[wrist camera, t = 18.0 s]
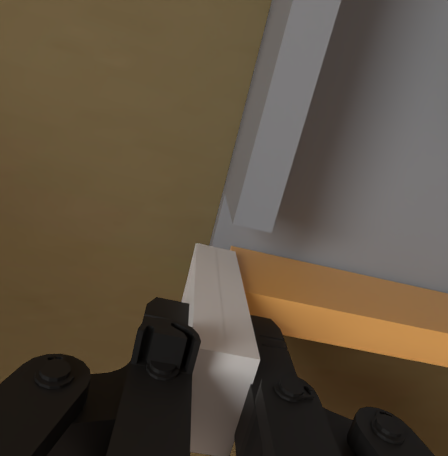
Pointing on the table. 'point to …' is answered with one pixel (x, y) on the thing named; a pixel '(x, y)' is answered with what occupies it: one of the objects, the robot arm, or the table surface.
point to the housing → (346, 141)
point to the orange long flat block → (346, 307)
